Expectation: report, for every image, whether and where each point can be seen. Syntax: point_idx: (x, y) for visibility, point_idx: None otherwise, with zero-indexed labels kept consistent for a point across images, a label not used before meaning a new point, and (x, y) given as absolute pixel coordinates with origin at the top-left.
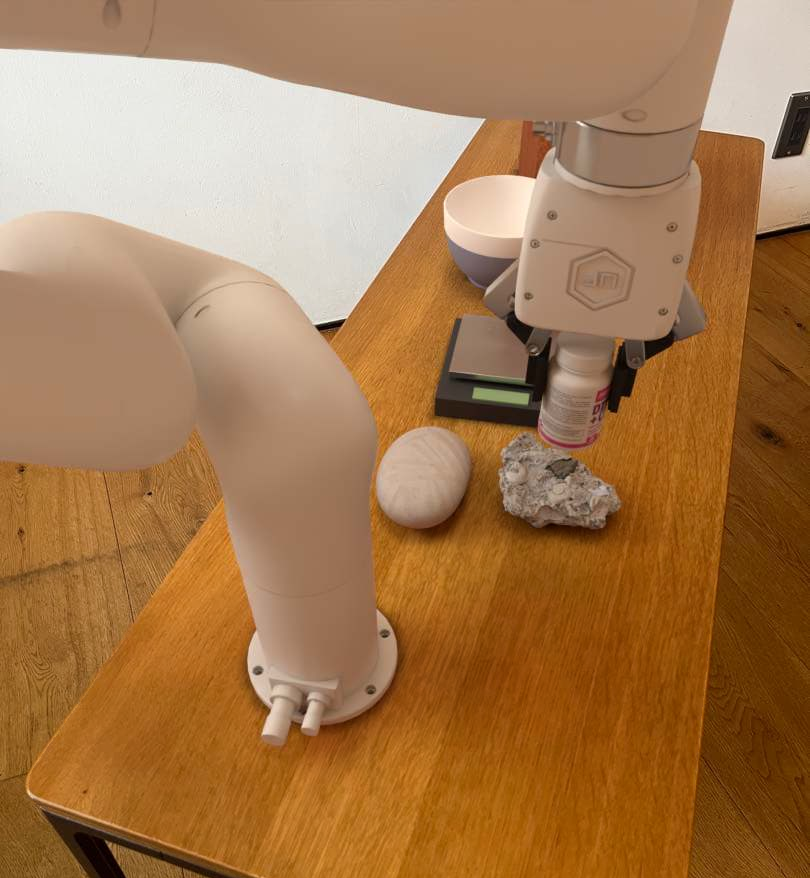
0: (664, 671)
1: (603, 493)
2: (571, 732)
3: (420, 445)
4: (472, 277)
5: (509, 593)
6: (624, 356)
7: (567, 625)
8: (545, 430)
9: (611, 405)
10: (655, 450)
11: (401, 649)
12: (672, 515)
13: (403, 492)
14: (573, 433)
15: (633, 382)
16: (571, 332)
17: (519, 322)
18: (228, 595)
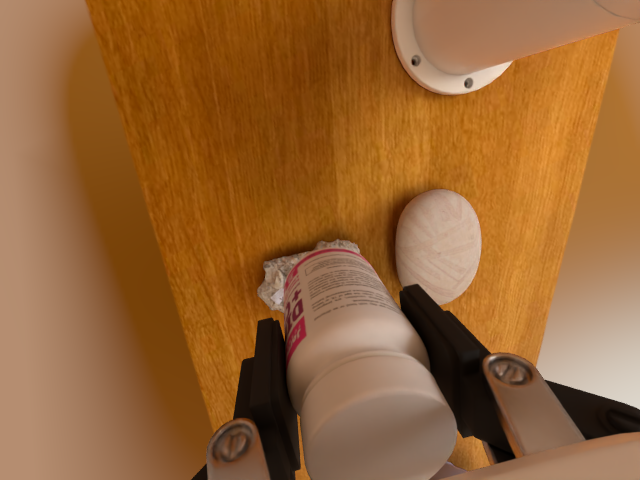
0: (160, 139)
1: (275, 295)
2: (214, 31)
3: (456, 272)
4: (455, 467)
5: (320, 166)
6: (271, 445)
7: (260, 153)
8: (365, 262)
9: (272, 328)
10: None
11: (393, 60)
12: (215, 308)
13: (455, 212)
14: (321, 265)
15: (239, 388)
16: (491, 470)
17: (619, 433)
18: (561, 54)
